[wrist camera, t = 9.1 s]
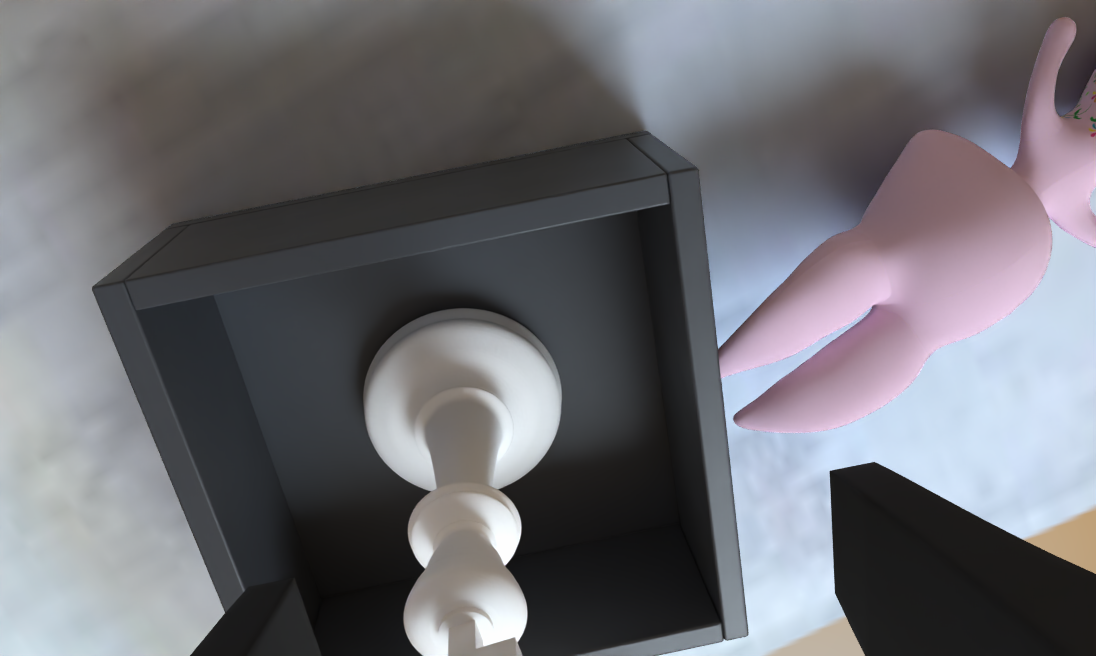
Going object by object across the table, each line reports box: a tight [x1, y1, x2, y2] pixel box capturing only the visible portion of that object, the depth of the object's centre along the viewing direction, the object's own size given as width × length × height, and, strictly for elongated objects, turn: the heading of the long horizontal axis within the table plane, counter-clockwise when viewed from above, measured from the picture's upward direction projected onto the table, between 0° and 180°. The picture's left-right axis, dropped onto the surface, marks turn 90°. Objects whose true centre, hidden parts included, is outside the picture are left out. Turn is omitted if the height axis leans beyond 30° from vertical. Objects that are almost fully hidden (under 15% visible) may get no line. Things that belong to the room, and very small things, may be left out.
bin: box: [92, 131, 748, 656], centre depth 19 cm, size 11×11×4 cm
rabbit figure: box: [718, 17, 1096, 433], centre depth 18 cm, size 6×6×15 cm
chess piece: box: [363, 308, 562, 656], centre depth 16 cm, size 5×5×10 cm
